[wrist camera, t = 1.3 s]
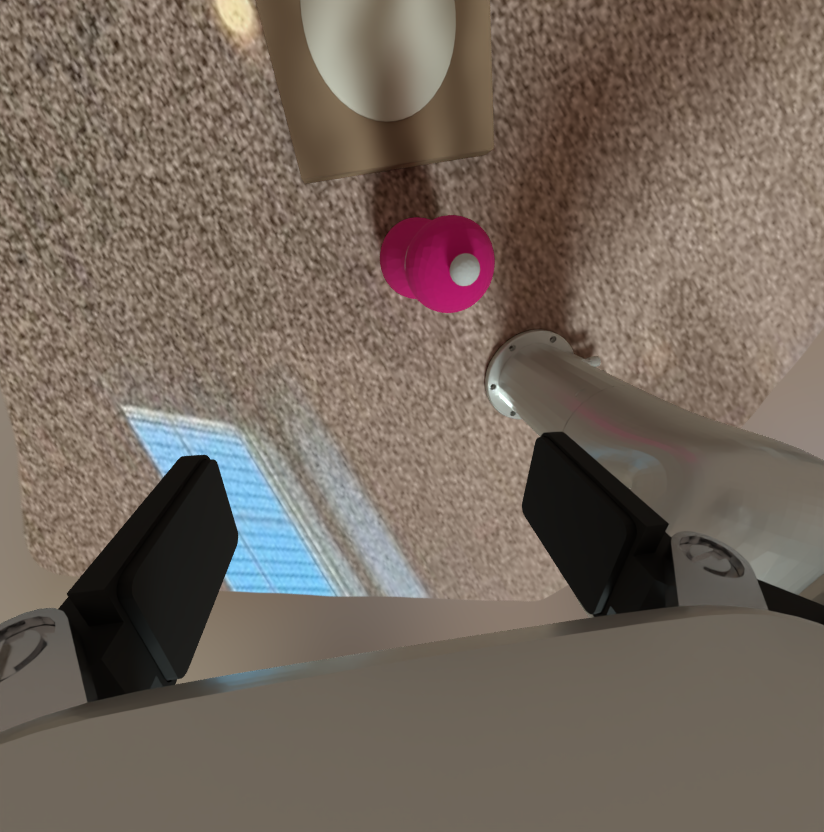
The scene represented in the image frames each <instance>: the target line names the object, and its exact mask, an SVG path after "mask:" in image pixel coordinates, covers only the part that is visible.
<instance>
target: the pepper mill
mask: <svg viewBox="0 0 824 832" xmlns="http://www.w3.org/2000/svg"><path fill="white" fill-rule="evenodd" d="M380 265H381V270H382V273H383V276H384V278H385V280H386V281H387V283H388V284H389V285H390V287H391V288H392V289H393V290H394V291H396V292H397V293H399V294H400V295H402V296H405V297H408V298H412V299H417V300H418V301H419V302H421V303H422V304H423V305H424V306H426V307H428V308H429V309H431V310H434V311H437V312H442V313H453V312H459V311H462V310H465V309H467V308H469V307H471V306H472V305H474V304H475V303H476V302H477V301H478V300H479V299H480V298H481V297H482V296H483V295H484V293H485V292H486V290H487V289H488V287H489V285H490V283H491V280H492V277H493V272H494V265H495V258H494V251H493V247H492V243H491V241H490V239H489V237H488V236H487V234H486V232H485V231H484V230H483V229H482V228H481V227H480V226H479V225H478V224H477V223H475V222H474V221H472V220H470V219H468V218H465V217H462V216H456V215H448V216H441V217H438V218H435V219H433V220H430V219H426V218H420V217H413V218H408V219H405V220H402V221H401V222H399V223H397V224H396V225H395V226H394V227H393V228H392V229H391V230H390V231H389V232H388V234H387V235H386V237H385V239H384V241H383V244H382V247H381V252H380Z"/></svg>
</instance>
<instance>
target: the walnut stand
mask: <svg viewBox="0 0 824 832" xmlns="http://www.w3.org/2000/svg"><path fill="white" fill-rule="evenodd" d="M256 4H257V8H258V12H259V16H260V20H261V24H262V27H263V31H264V35H265V39H266V43H267V47H268V51H269V54H270V58H271V62H272V66H273V70H274V74H275V78H276V81H277V85H278V89H279V93H280V97H281V101H282V105H283V108H284V112H285V116H286V120H287V124H288V128H289V132H290V135H291V139H292V143H293V147H294V151H295V155H296V159H297V162H298V166H299V170H300V174H301V178H302V180H303V182H304V183H305V184H307V183H314V182H320V181H326V180H332V179H339V178H345V177H351V176H357V175H364V174H370V173H376V172H382V171H389V170H395V169H401V168H407V167H413V166H420V165H426V164H432V163H438V162H445V161H451V160H457V159H463V158H470V157H476V156H482V155H485V154H487V153H488V152H490V151H491V150H493V149H494V127H493V91H492V56H491V20H490V0H256Z"/></svg>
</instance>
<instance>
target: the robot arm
mask: <svg viewBox="0 0 824 832" xmlns="http://www.w3.org/2000/svg"><path fill="white" fill-rule="evenodd" d="M510 346H511V347H510ZM509 347H510V348H509ZM600 363H601V362H600V358H599V357H598V356H593V357H588V358H586V359H583V358H581V357H579V356H577V355H575V354H574V353H573V350H572V348H571V346H570V344H569V343H568V342H567V341H566V340H565V339H564V338H563V337H561V336H560V335H558V334H556V333H554V332H551V331H547V330H530V331H525V332H523V333H520V334H518V335H516V336H514V337H513V338H511V339H509V340H508V341H507V342H506V343H505V344H503V345H502V346H501V347H500V348H499V350H498V351H497V352H496V353H495V355H494V356H493V358H492V360H491V361H490V364H489V366H488V369H487V372H486V378H485V389H486V394H487V397H488V399H489V401H490V403H491V404H492V405H493V407H494V408H495V409H496V410H497V411H498V412H500V413H501V414H503V415H504V416H506V417H509V418H513V419H523V420H524V421H525V422H526V423H527V424H528V425H529V426H530V427H531V428H532V429H533V430H534V431H535V432H536V433H537V434H538V435H539V436H540V437H539V438H537V440H536V442H535V446H534V451H533V456H532V460H531V465H530V470H529V474H528V479H527V483H526V488H525V493H524V497H523V502H522V510H523V514H524V516H525V517H526V519H527V520H528V522H529V524H530V525H531V527H532V528H533V530H534V531H535V533H536V534H537V536H538V538H539V539H540V541H541V542H542V544H543V545H544V547H545V549H546V550H547V552H548V553H549V555H550V556H551V558H552V559H553V561H554V563H555V564H556V566H557V567H558V569H559V570H560V572H561V574H562V575H563V577H564V578H565V580H566V581H567V583H568V584H569V586H570V588H571V589H572V591H573V592H574V594H575V595H576V597H577V599H578V601H579V603H580V604H581V606H582V608H583V610H584V611H585V612H586V614H587V615H588V616H589V618H586V619H580V620H573V621H566V622H560V623H553V624H547V625H541V626H534V627H527V628H520V629H513V630H507V631H500V632H494V633H488V634H481V635H475V636H468V637H462V638H456V639H449V640H443V641H437V642H430V643H424V644H418V645H411V646H405V647H399V648H392V649H386V650H379V651H373V652H367V653H361V654H354V655H348V656H342V657H336V658H330V659H324V660H318V661H312V662H305V663H299V664H293V665H287V666H281V667H275V668H269V669H262V670H256V671H250V672H244V673H238V674H232V675H226V676H221V677H215V678H209V679H204V680H198V681H194V682H188V683H182V684H176V681H177V679H180V678H183V677H184V676H185V674H186V672H187V670H188V668H189V666H190V663H191V661H192V658H193V656H194V653H195V650H196V648H197V646H198V643H199V640H200V638H201V635H202V633H203V630H204V628H205V625H206V623H207V620H208V618H209V615H210V612H211V610H212V607H213V605H214V602H215V600H216V597H217V595H218V592H219V590H220V587H221V585H222V582H223V579H224V577H225V574H226V572H227V569H228V567H229V564H230V562H231V559H232V557H233V554H234V552H235V549H236V546H237V543H238V531H237V528H236V524H235V521H234V518H233V514H232V511H231V507H230V504H229V501H228V497H227V494H226V491H225V487H224V484H223V480H222V477H221V474H220V470H219V467H218V464H217V462H216V460H210V458H209V457H208V456H207V455H194V456H182V457H180V458H179V459H178V460H177V462H176V463H175V464H174V465H173V466H172V468H171V469H170V470H169V471H168V472H167V474H166V475H165V476H164V477H163V478H162V480H161V481H160V482H159V483H158V485H157V486H156V487H155V488H154V489H153V491H152V492H151V493H150V494H149V495H148V497H147V498H146V499H145V500H144V501H143V503H142V504H141V505H140V506H139V507H138V509H137V510H136V511H135V512H134V513H133V515H132V516H131V517H130V518H129V519H128V521H127V522H126V523H125V524H124V525H123V527H122V528H121V529H120V530H119V531H118V533H117V534H116V535H115V536H114V537H113V539H112V540H111V541H110V542H109V543H108V545H107V546H106V547H105V548H104V549H103V551H102V552H101V553H100V554H99V555H98V557H97V558H96V559H95V560H94V561H93V563H92V564H91V565H90V566H89V567H88V569H87V570H86V571H85V572H84V573H83V575H82V576H81V577H80V579H78V581H77V582H76V583H75V584H74V586H73V587H72V588H71V589H70V590H69V592H68V593H67V595H68V598H67V599H66V600H65V602H64V603H63V604H62V605H61V606H60V608H59V609H55V608H45V609H37V610H34V611H30V612H26V613H23V614H21V615H18V616H16V617H14V618H11V619H9V620H7V621H5V622H3V623H1V624H0V832H824V460H822V459H820V458H818V457H816V456H814V455H812V454H810V453H808V452H806V451H804V450H801V449H799V448H796V447H794V446H791V445H788V444H786V443H783V442H780V441H777V440H775V439H772V438H769V437H766V436H763V435H759V434H756V433H753V432H749V431H746V430H743V429H740V428H737V427H734V426H731V425H727V424H724V423H721V422H718V421H715V420H712V419H709V418H707V417H704V416H701V415H698V414H696V413H693V412H690V411H688V410H685V409H683V408H681V407H679V406H676V405H674V404H672V403H669V402H667V401H665V400H663V399H660V398H658V397H656V396H654V395H652V394H650V393H648V392H646V391H644V390H641V389H639V388H637V387H635V386H633V385H631V384H629V383H627V382H625V381H623V380H621V379H619V378H616V377H614V376H612V375H610V374H608V373H606V371H604V370H600V369H598V368H596V366H599V365H600ZM629 488H631V489H629ZM175 684H176V685H175Z"/></svg>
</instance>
